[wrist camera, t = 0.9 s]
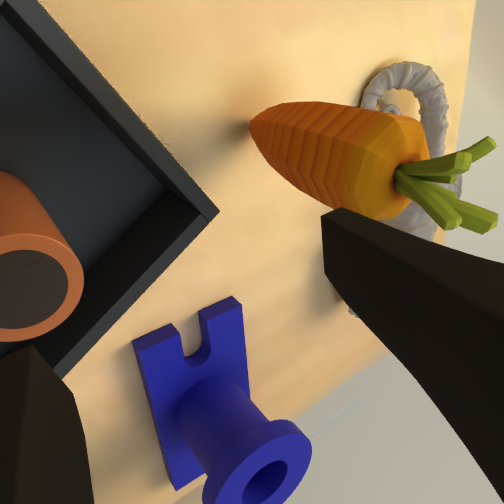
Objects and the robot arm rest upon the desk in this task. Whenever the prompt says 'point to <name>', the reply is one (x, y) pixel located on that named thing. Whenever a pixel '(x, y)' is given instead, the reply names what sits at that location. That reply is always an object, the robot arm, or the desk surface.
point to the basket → (89, 177)
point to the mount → (218, 415)
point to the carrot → (367, 162)
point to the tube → (33, 266)
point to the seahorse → (433, 125)
